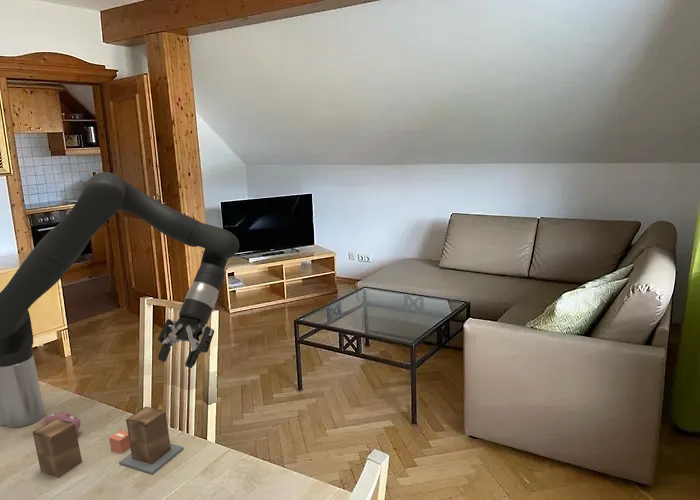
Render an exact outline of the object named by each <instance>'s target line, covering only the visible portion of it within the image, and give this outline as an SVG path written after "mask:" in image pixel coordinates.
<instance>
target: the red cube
mask: <svg viewBox="0 0 700 500" xmlns="http://www.w3.org/2000/svg"><path fill="white" fill-rule="evenodd" d="M108 440H109V445H110V446H109V447H110V451H112V452H114V453H119V454H121V455H122V454H124V453H125V452H127V451H128V450H129V449H131V447H130V441H129V435H128V431H125V430H122V429H120V430H118V431H116V433H113V434H112V435H111V436H109V437H108Z"/></svg>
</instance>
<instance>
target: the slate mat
mask: <svg viewBox="0 0 700 500" xmlns="http://www.w3.org/2000/svg"><path fill="white" fill-rule="evenodd" d="M170 447H171V450H170V451H168V452H167V453H166V454H165V455H163V456H162V457H161V458H160V459H158V460H157V461H156V462H154V463H153V464H149V463H146V462H142V461H139V460H136V459H132V454H131V452H130V453H129V454H128V455H126V456H125V457H123V458H122V459H121V460H119V461H118V465H121V466H123V467H127V468H131V469H134V470H137V471H139V472H144V473H146V474H150V475H151V476H152V475H154V474H156V473H157V471H159V470H160V469H161V468H162V467H164V466H165V465H166V464H168V463H169V462H170V461H171V460H172V459H174V458H175V457H176V456H177V455H178V454H180V453H181V452H183V450H184V446H181V445H177V444H174V443H171V442H170Z"/></svg>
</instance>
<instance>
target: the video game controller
mask: <svg viewBox="0 0 700 500" xmlns="http://www.w3.org/2000/svg"><path fill="white" fill-rule="evenodd" d="M56 418H58V419H62V420H65V421H69V422H72V423H75V427H76V432H77V433H78V431H79V428H80V427H81V422H82V421H81V420H80V417H78V416H76V415H74V414H71V413H69V412H54V413H51V414H48V415H47V416H46V417H45V419H44V420H43V421H42V423H41V426H40V427H42V426H44V425H45V424H47V423H49V422H51V421H52V420H54V419H56Z"/></svg>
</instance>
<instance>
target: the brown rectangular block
mask: <svg viewBox="0 0 700 500" xmlns="http://www.w3.org/2000/svg"><path fill="white" fill-rule="evenodd" d="M125 421H126V429H127V432H128V435H129V441H130V447H131V448H130V453H131V454H132V459H136V460H139V461H142V462H146V463H149V464H153V463H154V462H156V461H157V460H158V459H160V458H161V457H162V456H163V455H165V454H166V453H167V452H168V451H170V450H171V447H170V443H171V441H170V434H169V433H170V432H169V426H168V420H167V412H166V411H165V410H162V409H158V408H153V407H150V406H144V407H143V408H142V409H140V410H138V411H137V412H135V413H134V414H132V415H131V416H129V417H128V418H126V419H125Z"/></svg>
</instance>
